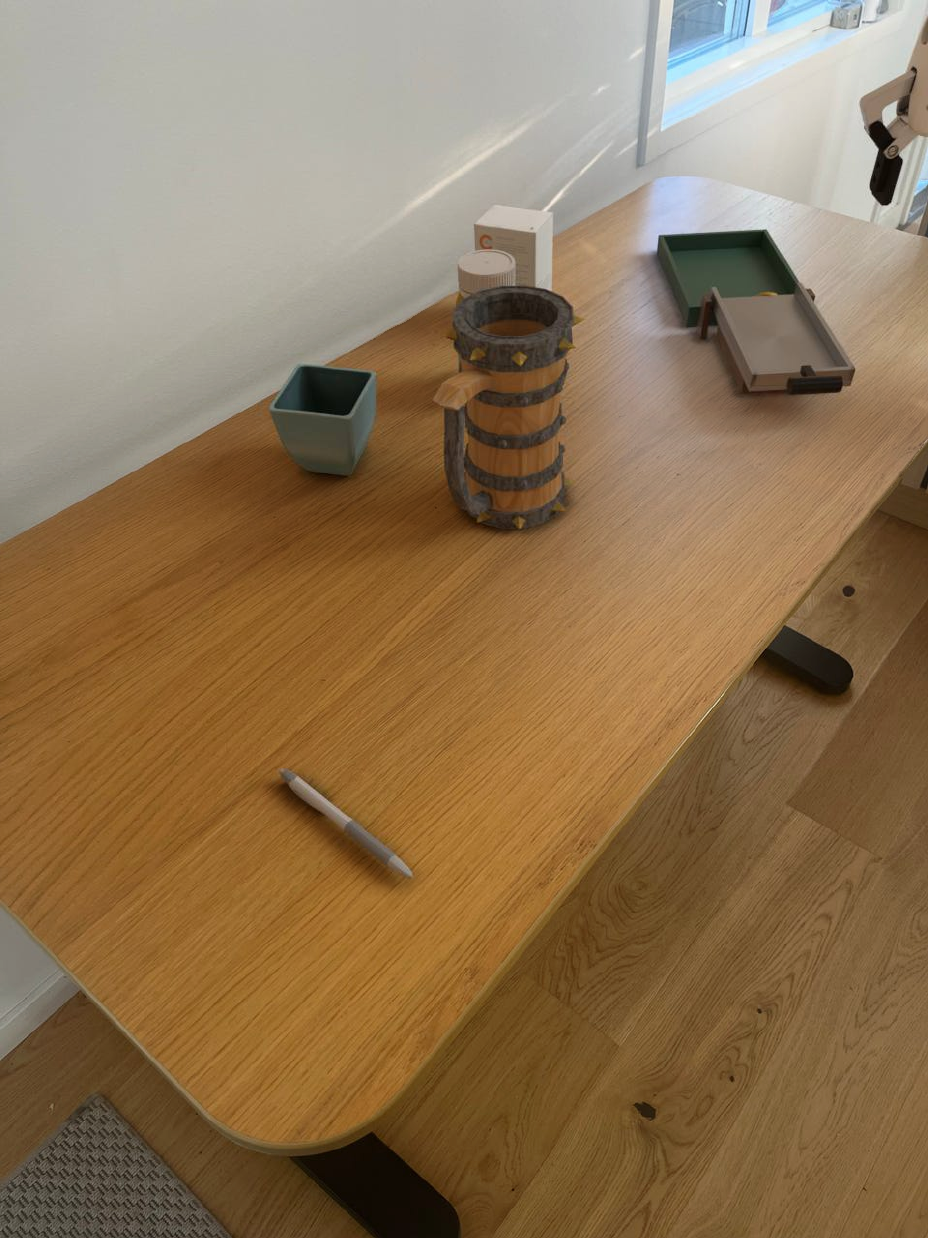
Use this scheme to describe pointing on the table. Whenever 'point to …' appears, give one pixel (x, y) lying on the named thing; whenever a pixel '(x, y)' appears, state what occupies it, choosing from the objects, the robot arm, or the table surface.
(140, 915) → the table surface
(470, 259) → the bottle
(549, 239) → the small box
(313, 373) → the flower pot
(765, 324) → the grey pull-out drawer
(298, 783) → the pen
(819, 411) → the table surface
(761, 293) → the yellow block
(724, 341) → the stand
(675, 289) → the tray
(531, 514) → the mug
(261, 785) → the table surface
